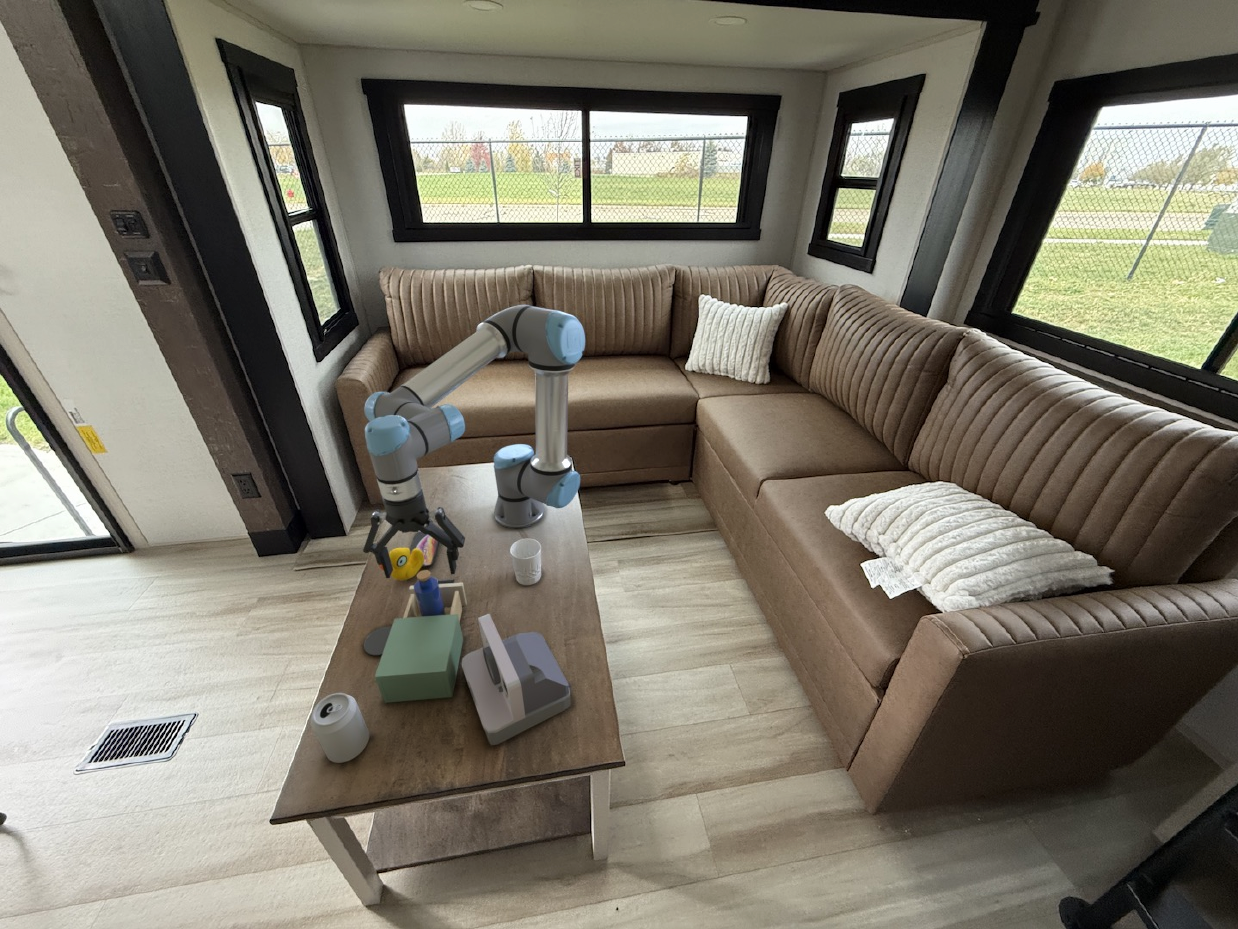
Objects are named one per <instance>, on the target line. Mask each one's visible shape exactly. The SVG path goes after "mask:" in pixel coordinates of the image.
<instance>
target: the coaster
mask: <svg viewBox="0 0 1238 929" xmlns="http://www.w3.org/2000/svg"><path fill="white" fill-rule="evenodd" d="M391 628H392V625H391V626H390V625H387V626H382V627H379V628H377V629H374V630H373V631H372V632H370V633H369V634H368V635H367V637H366V638H365V640H364V643H363V650H364V652H365V654H367V655H369V656H372V657H380V656H381V657H382V654H383V651H384V648H385V645H386V643H387V640H388V637H389V634H390V631H391Z"/></svg>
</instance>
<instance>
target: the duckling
mask: <svg viewBox="0 0 1238 929" xmlns="http://www.w3.org/2000/svg"><path fill="white" fill-rule="evenodd" d="M388 553H389V556H390V560H391V563H392V567H393V571H392V574H391V576H390V577H392V578H393V579H394V580H396V581H407V580H409V579H411V578H413V577H415V576H417V574H418V573H419V572H420V569H422V568H421V567H422V565H423V563H424V554H423V552H422V551H421V550H420V549H417V548H415V549H413V550H412V553H411V554H410V548H408V547H396V548H393V549H391V550H390V551H389V552H388ZM378 566H379V569H380V570H382V571H384V570H383V566H382V565H378Z"/></svg>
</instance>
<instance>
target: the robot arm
mask: <svg viewBox="0 0 1238 929" xmlns="http://www.w3.org/2000/svg"><path fill="white" fill-rule="evenodd" d="M585 348H586V334H585V330H584V327H583V325H582V323H581V321H579V319H578V318H577V317H576V316H575V315H573V314H570V313H566V312H564V311H561V310H555V309H549V308H544V307H538V306H532V305H529V304H518V305H514V306H511V307H508V308H505V309H503V310H500V311H499V312H496V313H495V314H493V315H491V316H489V317H488V318H486V319H485V320H483V321H482V322H481V323H479V324H478V325H477V326H476V331H475V332H474V333H473V334H471V335H470V336H469V337H467V338H465V339H464V340H463V341H461V342H460V343H459V344H457V345H456V346H454V347H452V349H450V350H449V351H447V352H445V354H443V355H442V356H440V357H439V358H437V360H434V361H433V362H432V363H430V364H429V365H428V366H426V367H425V368H424V369H422V370H421V371H419V372H418V373H417V374H415V375H414V376H412V377H411V378H409V379H408V380H407V381H406V382H403V384H401V385H400V386H399V387H396V388H395V389H394V390H392V391H391V392H389V391H376V392H373V393H372V394H371V395H370V396H369V397H368V398H367V399H366V400H365V402H364V408H363V409H364V410H363V411H364V416H365V418H366V419H367V420H368V421H369V422H368V423H367V424H365V428H364V435H365V436H364V437H365V442H366V449H367V452H368V453H369V457H370V461H371V463H372V467H373V470H374V474H375V477H376V481H377V484H378V485H377V486H378V490H379V493H380V495H381V497H382V498H381V499H382V504H383V508H384V511H385V512H381V511H380V510H379V509H375V510H374V512H372V515H371V517H370V525H371V526H370V529H369V532H368V534H367V537H366V541H365V543H364V546H363V549H362V553H365V554H369V553H372V554H373V555H374V558H375V561H376V563H377V565H378V566H379V565H382V566H383V570H382V571H383V574H384V576H385V578H386V579H390V578H391V577H392V576H391V574H392V571H393V567H392V563H391V560H390V556H389V553H390V552H389V549H388V547H387V544H388V543H389V542H390V541H391V539H392V538H393V537H394V536H396V534H397V533H398V532H401V533H402V534H403V533H405V534H406V533H417V532H422V533H424V534H428V535H429V536H431V537H432V538H434V539H435V540H437V541H438V542H439V544H441V545H442V546H444V547H445V548H446V551H445V552H446V557H447V562H448V566H449V571H450V575H456V570H457V561H458V560H459V556H460V552H459V549H462V548H464V546H465V543H466V542H465V541H466V537H465V536H464V535H463V534H462V532H461V531H460V530H459V529H458V528H457V527H456V526H455V524H454V523H453V522H452V521H451V519H450V518H449V517H448V516H447V515H446V512H445V509H444V508H443V507H442V506H438V507H437V508H436V509H435V510H429V509H428V508H427V504H426V498H425V494H424V490H423V488H422V487H423V485H422V481H421V476H420V472H419V467H418V461H417V460H418V459H420V458H423V457H425V456H426V455H428V454H431V453H432V452H435V451H437V450H439V449H440V448H443V447H444V446H447V445H449V444H452V443H453V442H454V441H455V440H457V439H459V438H461V437H462V436H463V435H464V433H465V431H466V423H465V419H464V417H463V414H462V413H461V411H460V410H459V409H458V408H457V407H456V406H454V405H453V404H450V403H445V404H441V405H437V404H439V403H440V402H441V401H442V400H444V399H445V398H446V397H448V395H450V394H451V393H452V392H454V391H455V390H456V389H458V388H459V387H460V386H461V385H463V384H464V383H465V382H466V381H468V380H469V379H470V378H472V377H473V376H474V375H476V374H477V373H479V372H480V371H481V370H482V369H484V368H485V367H486V366H488V364H490V363H491V362H493V361H494V360H495V359H503V358H504V357H506V356H507V355H508V354H511V353H514V352H519V353H524V354H526V355H527V354H528V356H527V357H528V367H529V368H530V369H531V370H532V371H533V372H534V418H535V419H534V420H535V428H534V429H535V451H534V449H533V447H532V446H530V445H529V444H525V443H524V444H523V443H516V444H510V445H507V446H504V447H502V448H500V449H499V450H497V451H496V452H495V453H494V456H493V471H494V477H495V484H496V490H497V499H496V502H495V506H494V519H495V521H496V522H497V523H498V524H499V525H500V526H502V527H504V528H508V529H514V530H515V529H516V530H517V529H525V528H528V527H531V526H534V525H535V524H537V523H538V522H540V521H541V520H542V519H543V517H544V514H545V507H544V505H546V506H547V507H552V508H555V509H563V508H566V507H567V506H568V505H569V504H570V503H571V502H572V501H573V500H574V498H575V497H576V495H577V493H578V491H579V489H580V485H581V475H580V473H578V472H577V471H576V470H574V469H573V459H572V457H571V456H570V455H569V454H568V426H569V425H568V423H569V422H568V421H569V420H568V419H569V418H568V417H569V373H570V372H571V371H572V370H574V368H575V367H576V363H577V362H579V361H580V359H581V358H582V356H583V353H584V351H585ZM436 405H437V406H436ZM434 406H436V407H434ZM432 519H433V520H432ZM384 521H386V522H387V523H388V524H390V527H388V529H387V530H386V532H384V534H382V535H383V536H381V538H380V539H379V540H378V541H377V543H374V542H375V539H376V536H377V533H378V531H379V528H380V526H381V524H383V523H384ZM434 522H436V523H437V525H438V526H437V525H436V524H435V523H434Z"/></svg>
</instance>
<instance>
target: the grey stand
mask: <svg viewBox="0 0 1238 929" xmlns="http://www.w3.org/2000/svg"><path fill="white" fill-rule="evenodd" d="M477 621H478V626H479V632H480V637H481V643H482V647H481V648H478V649H475V650H474V651H470V652H469V653H467V654H466V655H465V656H463V657H462V658H461V669H462V672H463V674H464V677H465V680H466V682H467V686H468V688H469V691H470V694H471V697H472V699H473V702H474V705H475V708H476V711H477V713H478V717H479V720H480V722H481V726H482V728H483V730H484V732H485V736H486V738H487V741H488V743H489V744H490V746H497V745H500V744H501V743H503V742H505V741H507V740H509V739H511V738H513V737H515V736H517V735H519V734H521V733H523V732H524V731H526V730H529V729H531V728H533V727H534V726H536V725H538V724H541V723H543V722H544V721H546V720H549V719H550V718H552V717H555V716H557V715H559V714H560V713H562V712H565V711H566V710H567V709H568V708H570V707H571V706H572V705H571V704H572V703H571V693H572V687H571V685H570V682H569V681H568V680H567V678H566V676H565V675H564V673H563V670H562V669H561V667H560V665H559V664H558V662H557V660H556V658H555V656H554V654H553V653H552V650H551V648H550V647H549V644H548V642H547V640H545V638H544V636H543V635H542V634H541V633H540V632H537V631H529V632H521V633H516V634H514V635H512V636H510V637H507V638H505V639H502V638H501V636H500V633H499V632H498V630H497V626H496V624H495V623H494V621H493V618H492V616H491V614H490V613H487V614H484V615H481V616H479V617H478V618H477Z"/></svg>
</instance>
